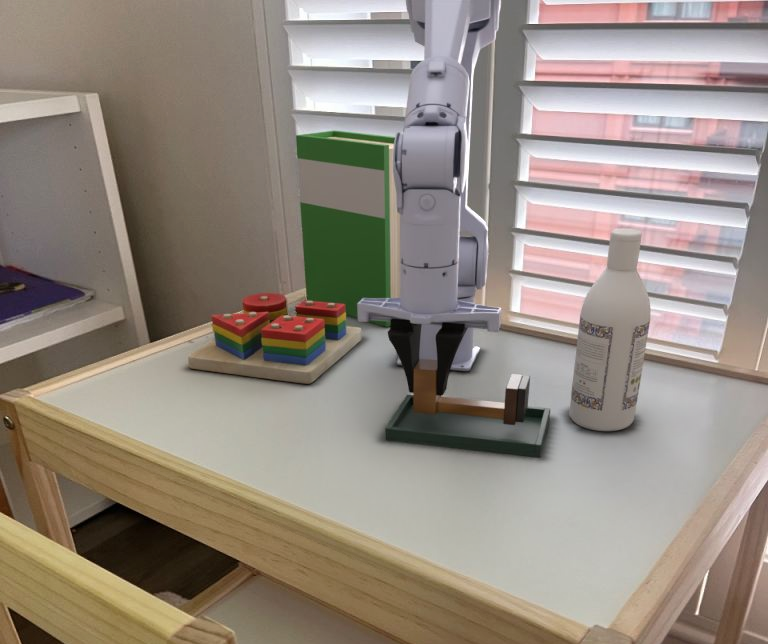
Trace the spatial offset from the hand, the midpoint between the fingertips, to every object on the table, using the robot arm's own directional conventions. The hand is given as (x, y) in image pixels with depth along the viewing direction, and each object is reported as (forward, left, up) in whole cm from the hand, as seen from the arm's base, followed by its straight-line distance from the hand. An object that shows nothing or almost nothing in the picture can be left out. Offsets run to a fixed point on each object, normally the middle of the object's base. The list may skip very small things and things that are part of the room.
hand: (427, 390), depth 85 cm
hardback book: (-19, +38, -4) cm, 43 cm away
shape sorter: (-24, +17, -4) cm, 30 cm away
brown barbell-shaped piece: (+5, 0, -2) cm, 5 cm away
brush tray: (+5, 0, -4) cm, 6 cm away
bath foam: (+18, +6, -4) cm, 20 cm away
